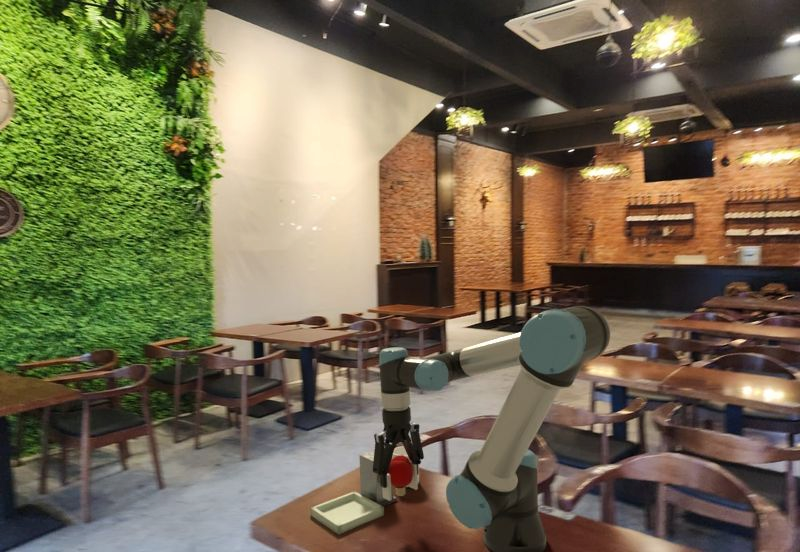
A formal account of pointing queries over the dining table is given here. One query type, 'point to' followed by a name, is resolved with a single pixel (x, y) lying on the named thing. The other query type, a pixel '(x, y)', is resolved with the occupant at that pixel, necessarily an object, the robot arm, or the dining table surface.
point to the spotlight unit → (372, 481)
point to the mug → (402, 451)
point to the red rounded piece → (400, 473)
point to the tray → (347, 512)
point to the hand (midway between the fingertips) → (400, 493)
